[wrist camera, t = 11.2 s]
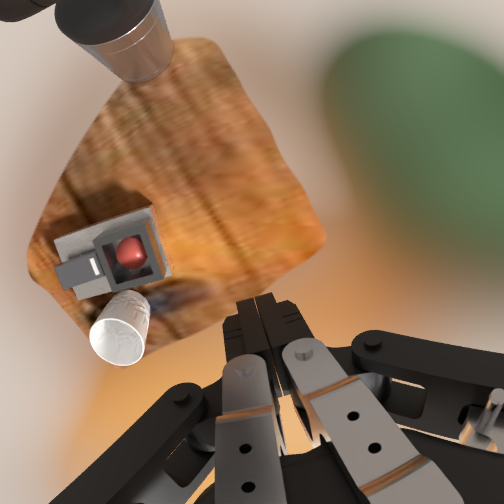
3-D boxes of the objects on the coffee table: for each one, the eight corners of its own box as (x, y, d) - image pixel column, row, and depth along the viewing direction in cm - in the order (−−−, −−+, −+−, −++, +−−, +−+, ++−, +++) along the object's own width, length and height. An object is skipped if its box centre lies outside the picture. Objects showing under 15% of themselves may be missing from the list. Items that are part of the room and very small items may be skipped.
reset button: (114, 240, 39) (111, 243, 37) (142, 231, 39) (140, 234, 38) (124, 269, 40) (122, 272, 39) (153, 261, 40) (151, 264, 39)
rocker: (57, 264, 37) (53, 268, 35) (98, 249, 38) (95, 252, 37) (66, 285, 38) (63, 290, 37) (106, 272, 39) (104, 276, 38)
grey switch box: (61, 234, 40) (41, 248, 34) (153, 203, 41) (143, 213, 35) (84, 292, 44) (69, 312, 37) (173, 267, 45) (168, 287, 38)
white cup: (99, 294, 44) (79, 327, 35) (140, 278, 44) (125, 310, 35) (122, 333, 47) (108, 370, 38) (162, 320, 47) (154, 358, 38)
